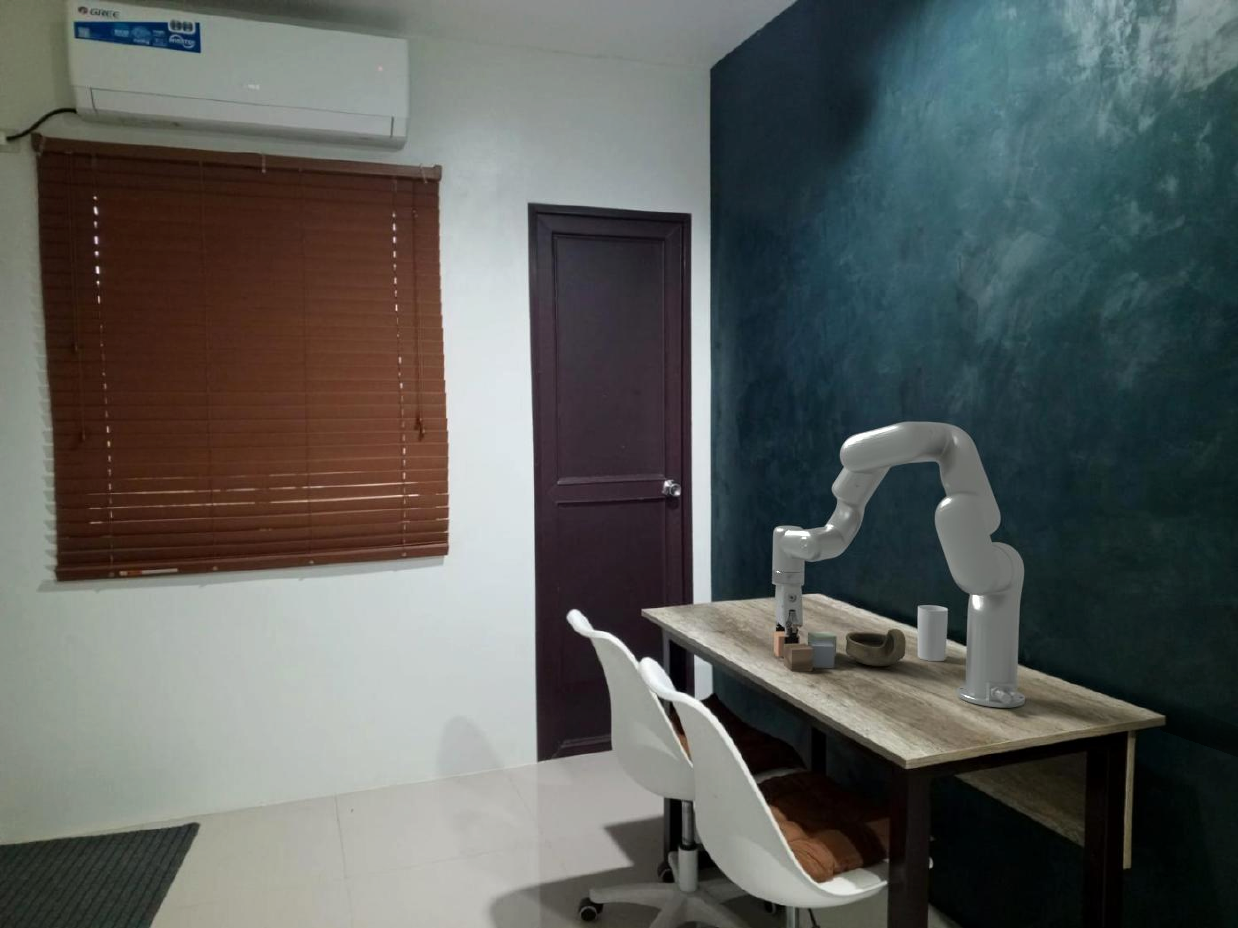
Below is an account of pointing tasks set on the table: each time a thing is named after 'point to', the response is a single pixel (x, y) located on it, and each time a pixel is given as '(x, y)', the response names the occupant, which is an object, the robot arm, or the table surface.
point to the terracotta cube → (780, 643)
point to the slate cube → (822, 654)
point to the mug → (932, 632)
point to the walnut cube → (798, 657)
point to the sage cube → (822, 638)
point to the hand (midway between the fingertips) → (786, 648)
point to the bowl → (876, 647)
